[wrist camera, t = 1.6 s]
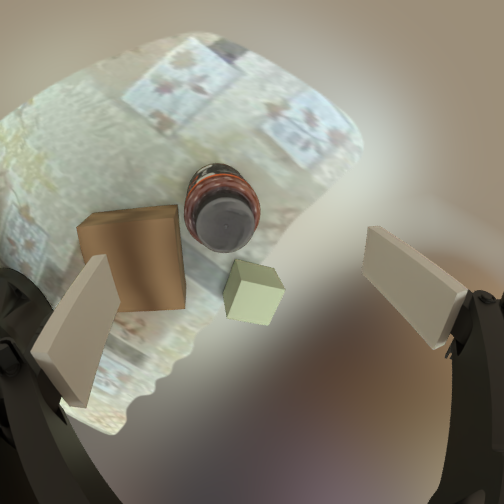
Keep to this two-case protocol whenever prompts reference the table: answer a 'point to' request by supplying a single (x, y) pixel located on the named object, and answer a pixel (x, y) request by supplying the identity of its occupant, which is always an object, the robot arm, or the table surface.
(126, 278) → the walnut block
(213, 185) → the supplement bottle
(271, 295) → the sage block
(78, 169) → the table surface
